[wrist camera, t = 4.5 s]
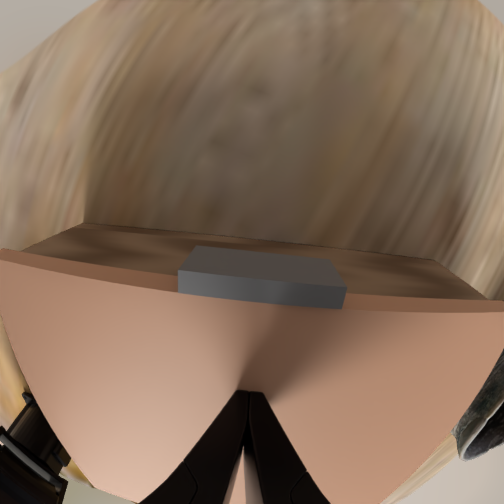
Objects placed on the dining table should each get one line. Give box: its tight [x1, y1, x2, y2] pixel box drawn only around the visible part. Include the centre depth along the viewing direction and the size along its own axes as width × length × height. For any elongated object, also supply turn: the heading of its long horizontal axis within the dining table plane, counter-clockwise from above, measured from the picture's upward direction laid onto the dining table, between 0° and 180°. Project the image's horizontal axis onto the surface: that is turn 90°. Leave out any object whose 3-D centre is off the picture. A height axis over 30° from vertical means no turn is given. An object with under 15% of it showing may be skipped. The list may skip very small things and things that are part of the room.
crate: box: [21, 223, 488, 300], centre depth 14 cm, size 20×18×6 cm
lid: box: [0, 245, 504, 504], centre depth 10 cm, size 20×19×2 cm
